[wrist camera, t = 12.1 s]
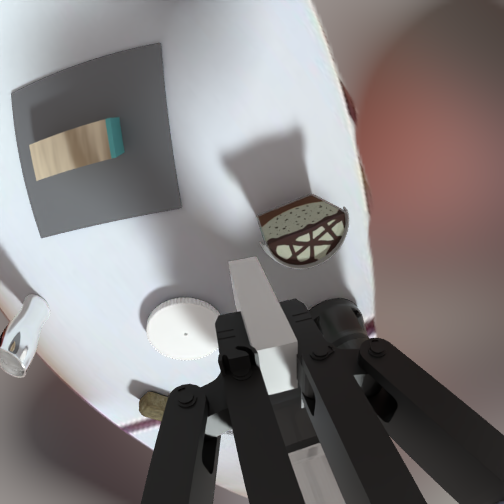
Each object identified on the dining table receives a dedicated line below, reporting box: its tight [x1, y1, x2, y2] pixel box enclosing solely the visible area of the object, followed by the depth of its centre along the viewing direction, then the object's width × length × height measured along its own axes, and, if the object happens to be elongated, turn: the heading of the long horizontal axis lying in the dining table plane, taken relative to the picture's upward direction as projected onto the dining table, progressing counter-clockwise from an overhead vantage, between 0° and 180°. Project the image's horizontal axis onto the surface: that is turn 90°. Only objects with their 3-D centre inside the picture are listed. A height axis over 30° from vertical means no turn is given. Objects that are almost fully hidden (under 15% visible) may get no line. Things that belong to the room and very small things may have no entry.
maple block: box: [29, 117, 125, 181], centre depth 30 cm, size 5×5×12 cm
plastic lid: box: [146, 297, 220, 361], centre depth 49 cm, size 14×14×2 cm
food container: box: [256, 194, 349, 269], centre depth 41 cm, size 12×6×10 cm, turn 109°
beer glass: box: [0, 294, 50, 378], centre depth 35 cm, size 7×7×15 cm
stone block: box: [139, 392, 168, 421], centre depth 58 cm, size 6×12×5 cm, turn 53°
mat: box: [11, 43, 182, 238], centre depth 33 cm, size 24×24×1 cm
